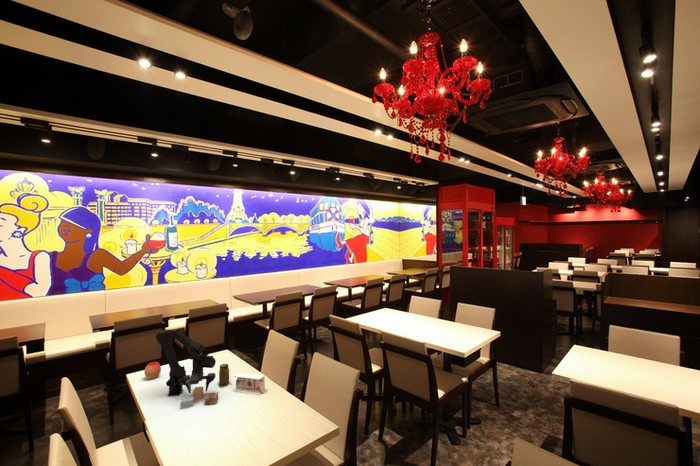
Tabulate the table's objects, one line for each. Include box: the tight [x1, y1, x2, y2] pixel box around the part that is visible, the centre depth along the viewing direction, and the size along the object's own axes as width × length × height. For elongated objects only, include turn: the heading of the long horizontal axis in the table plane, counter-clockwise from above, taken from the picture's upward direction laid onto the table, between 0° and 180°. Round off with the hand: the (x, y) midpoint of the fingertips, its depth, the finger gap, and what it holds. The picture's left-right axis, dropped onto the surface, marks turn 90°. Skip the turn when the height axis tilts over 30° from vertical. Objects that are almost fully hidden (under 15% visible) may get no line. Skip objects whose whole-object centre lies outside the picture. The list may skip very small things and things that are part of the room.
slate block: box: [180, 394, 194, 410], centre depth 176 cm, size 6×6×4 cm
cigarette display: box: [232, 372, 266, 395], centre depth 192 cm, size 20×6×9 cm, turn 75°
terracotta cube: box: [192, 386, 204, 399], centre depth 186 cm, size 4×4×4 cm
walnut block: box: [204, 392, 219, 406], centre depth 179 cm, size 6×6×4 cm
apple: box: [143, 361, 162, 380], centre depth 212 cm, size 10×10×10 cm
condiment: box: [216, 363, 233, 388], centre depth 201 cm, size 7×8×12 cm
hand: (198, 392), depth 186 cm, fingers open, 9 cm apart
